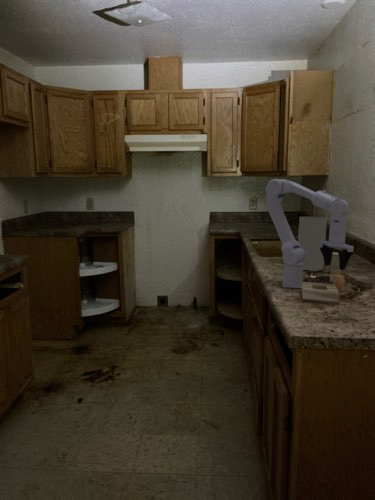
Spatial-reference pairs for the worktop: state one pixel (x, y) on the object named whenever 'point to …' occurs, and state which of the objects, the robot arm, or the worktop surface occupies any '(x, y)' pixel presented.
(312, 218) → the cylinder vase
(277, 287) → the worktop surface
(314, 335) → the worktop surface
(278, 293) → the worktop surface
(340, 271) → the skincare box
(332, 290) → the socket block
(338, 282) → the peg
